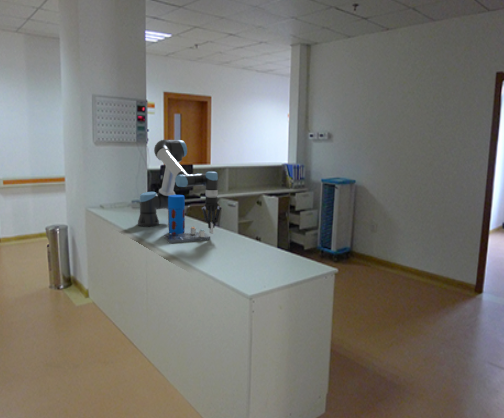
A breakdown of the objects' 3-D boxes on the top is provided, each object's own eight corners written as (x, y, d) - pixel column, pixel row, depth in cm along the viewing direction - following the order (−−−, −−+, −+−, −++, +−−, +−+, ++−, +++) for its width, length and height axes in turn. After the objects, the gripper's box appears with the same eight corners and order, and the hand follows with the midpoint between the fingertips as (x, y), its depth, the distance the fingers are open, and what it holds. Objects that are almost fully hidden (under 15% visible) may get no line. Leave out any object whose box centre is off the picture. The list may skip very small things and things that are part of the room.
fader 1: (190, 233, 260) (190, 226, 260) (194, 232, 261) (194, 226, 261) (192, 234, 257) (192, 227, 257) (195, 234, 258) (195, 227, 258)
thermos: (181, 235, 264) (180, 197, 260) (165, 233, 267) (165, 196, 262) (187, 231, 275) (186, 195, 271) (172, 230, 277) (171, 194, 273)
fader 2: (199, 235, 254) (199, 229, 253) (202, 235, 255) (202, 228, 254) (200, 237, 251) (200, 230, 250) (204, 236, 252) (204, 230, 251)
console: (164, 238, 255) (164, 234, 255) (203, 234, 266) (203, 231, 266) (169, 243, 242) (169, 240, 242) (210, 240, 253) (210, 237, 253)
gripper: (203, 197, 245) (203, 235, 249) (223, 196, 251) (223, 233, 255) (199, 196, 252) (199, 232, 256) (219, 195, 257) (218, 231, 262)
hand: (211, 233), depth 255 cm, fingers closed
